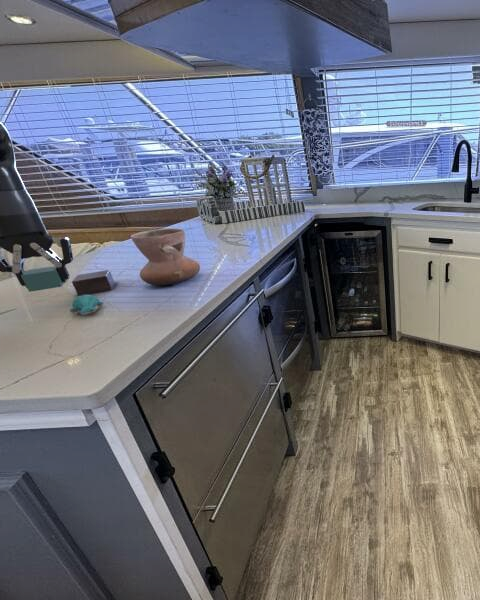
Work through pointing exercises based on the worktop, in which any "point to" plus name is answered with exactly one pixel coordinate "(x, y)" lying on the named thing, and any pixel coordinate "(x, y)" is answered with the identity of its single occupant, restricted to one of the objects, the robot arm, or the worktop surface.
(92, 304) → the toy turtle
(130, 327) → the worktop surface
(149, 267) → the ceramic jug
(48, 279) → the green block
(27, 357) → the worktop surface
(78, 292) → the walnut block
